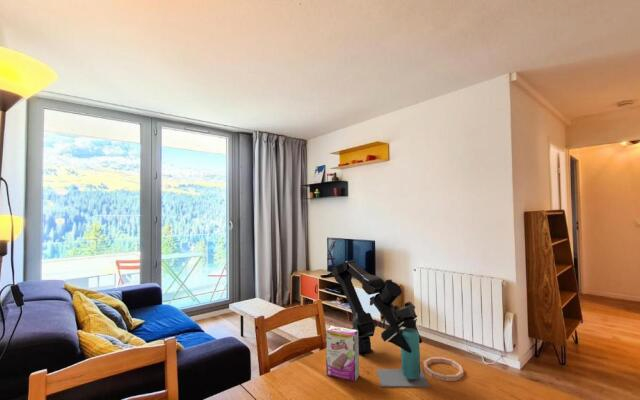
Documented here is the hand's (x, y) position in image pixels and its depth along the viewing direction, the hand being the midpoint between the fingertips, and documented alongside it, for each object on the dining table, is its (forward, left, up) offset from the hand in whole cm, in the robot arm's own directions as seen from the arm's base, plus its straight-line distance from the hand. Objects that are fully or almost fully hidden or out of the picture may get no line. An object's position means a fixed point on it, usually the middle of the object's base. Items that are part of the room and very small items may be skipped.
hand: (416, 347), depth 104 cm
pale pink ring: (+2, +12, -11) cm, 17 cm away
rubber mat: (-4, -3, -11) cm, 12 cm away
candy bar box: (-19, -18, -11) cm, 28 cm away
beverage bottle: (-1, -2, -11) cm, 11 cm away
